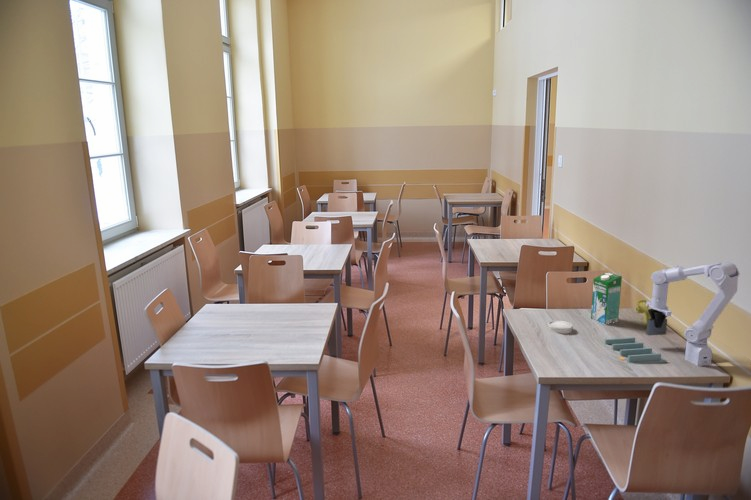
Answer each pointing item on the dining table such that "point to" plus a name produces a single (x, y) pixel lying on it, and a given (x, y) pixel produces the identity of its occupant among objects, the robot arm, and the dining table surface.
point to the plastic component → (643, 309)
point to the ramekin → (560, 327)
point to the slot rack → (634, 351)
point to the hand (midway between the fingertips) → (656, 326)
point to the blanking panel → (652, 328)
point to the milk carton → (606, 298)
